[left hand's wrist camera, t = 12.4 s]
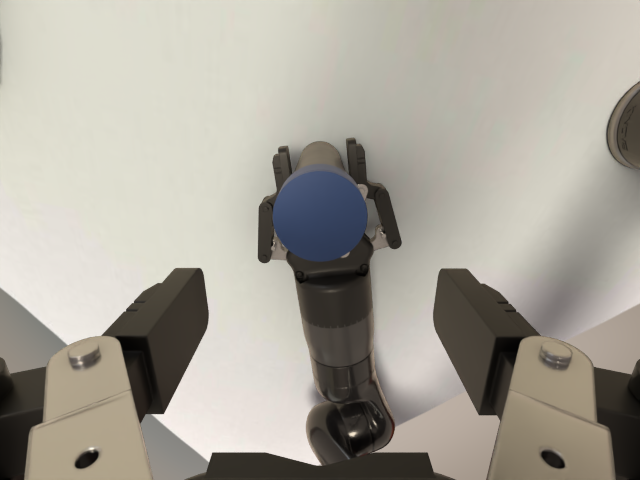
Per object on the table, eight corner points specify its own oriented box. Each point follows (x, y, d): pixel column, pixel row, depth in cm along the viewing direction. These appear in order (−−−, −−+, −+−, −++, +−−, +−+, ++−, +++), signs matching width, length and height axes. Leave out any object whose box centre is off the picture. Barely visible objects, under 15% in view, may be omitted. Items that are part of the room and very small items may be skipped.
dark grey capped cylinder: (325, 132, 36) (331, 160, 18) (348, 168, 37) (374, 226, 19) (291, 156, 37) (264, 205, 19) (314, 190, 38) (309, 266, 20)
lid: (332, 145, 20) (334, 151, 17) (378, 217, 21) (384, 231, 19) (260, 194, 21) (253, 205, 18) (309, 259, 22) (307, 277, 20)
